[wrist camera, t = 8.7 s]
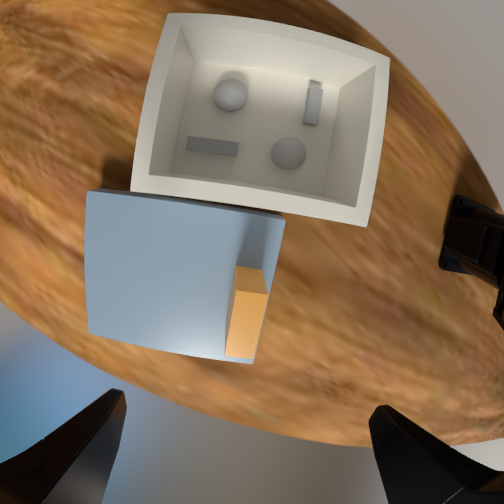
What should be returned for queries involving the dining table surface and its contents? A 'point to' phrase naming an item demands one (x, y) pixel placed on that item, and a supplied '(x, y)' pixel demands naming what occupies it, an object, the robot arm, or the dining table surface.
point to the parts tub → (262, 118)
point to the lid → (178, 273)
